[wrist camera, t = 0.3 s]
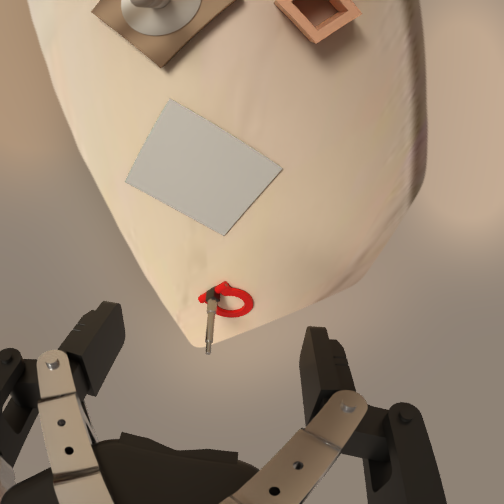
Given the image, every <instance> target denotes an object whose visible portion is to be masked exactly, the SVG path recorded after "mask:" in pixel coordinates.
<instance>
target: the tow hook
mask: <svg viewBox="0 0 504 504" xmlns="http://www.w3.org/2000/svg"><path fill="white" fill-rule="evenodd" d="M220 293H221V294H222V295H224V296H235V297H238V298H240V299H242V300H243V301H244V303H245V304H244V306H243V307H242V308H240V309H238V310H224V309H222V308H220V307H218V306H217V302H218V301H220ZM198 300H199V302H200V303H204V302H205V303H206V304H207V313H208V318H207V329H206V340H205V342H206V354H210V353H211V343H213V332H214V319H215V314H217V315H220V316H223V317H240V316H243V315H245V314H247V313H249V312H250V311H251V310H252V308H253V299H252V297H251V296H250V295H249V294H248V293H246V292H245V291H243V290H240V289H236V288H231V287H230V286H229V284H228V283H227V282H226V281H224V282H223V283H221V284H219V285H218V286H215V287H213V288H211V289H210V290H208V291H207V292H206V293H204V294H202V295H201V296H199V297H198Z"/></svg>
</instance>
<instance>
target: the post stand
mask: <svg viewBox="0 0 504 504" xmlns="http://www.w3.org/2000/svg"><path fill="white" fill-rule="evenodd" d="M234 1H236V0H100V1H99V3H98V4H97V5H96V6H95V8H94V9H93V10H92V11H91V12H92V13H93V14H95V15H96V16H97V17H98V18H100V19H101V20H102V21H104V22H105V23H106V24H108V25H109V26H110V27H111V28H113V29H114V30H115V31H117V32H118V33H119V34H120V35H122V36H123V37H124V38H125V39H127V40H128V41H129V42H130V43H132V44H133V45H134V46H135V47H136V48H138V49H139V50H140V51H141V52H143V53H144V54H145V55H146V56H147V57H149V58H150V59H151V60H152V61H153V62H154V63H156V64H157V65H158V66H159V67H160V68H161V67H163V66H165V65H166V64H167V63H168V62H169V61H170V60H171V59H172V57H173V56H174V55H175V54H176V53H177V52H178V51H179V50H180V49H181V48H182V47H184V46H185V45H186V44H187V43H188V42H189V41H190V40H191V39H192V38H193V37H194V36H195V35H196V34H197V33H198V32H199V31H200V30H202V29H203V28H204V27H205V26H206V25H207V24H208V23H209V22H210V21H212V20H213V19H214V18H215V17H216V16H217V15H219V14H220V13H221V12H222V11H223V10H225V9H226V8H227V7H228V6H229V5H231V4H232V3H233V2H234Z"/></svg>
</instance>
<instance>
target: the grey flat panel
mask: <svg viewBox="0 0 504 504" xmlns="http://www.w3.org/2000/svg"><path fill="white" fill-rule="evenodd" d="M282 169H283V168H282V167H280V166H279V165H277V164H276V163H274V162H273V161H271V160H270V159H268V158H267V157H265V156H264V155H262V154H261V153H259V152H258V151H256V150H255V149H253V148H251V147H250V146H248V145H247V144H245V143H244V142H242V141H241V140H239V139H237V138H236V137H234V136H233V135H231V134H229V133H228V132H226V131H225V130H223V129H221V128H220V127H218V126H216V125H215V124H213V123H211V122H210V121H208V120H206V119H205V118H203V117H201V116H200V115H198V114H196V113H195V112H193V111H191V110H189V109H188V108H186V107H184V106H182V105H181V104H179V103H177V102H175V101H174V100H172V99H169V101H168V102H167V104H166V105H165V107H164V109H163V111H162V112H161V114H160V116H159V117H158V119H157V121H156V123H155V124H154V126H153V128H152V130H151V132H150V133H149V135H148V137H147V139H146V141H145V143H144V144H143V146H142V148H141V150H140V152H139V154H138V156H137V158H136V160H135V162H134V164H133V166H132V168H131V170H130V172H129V174H128V176H127V178H126V180H125V182H126V183H128V184H130V185H131V186H133V187H135V188H137V189H139V190H141V191H142V192H144V193H146V194H148V195H150V196H152V197H153V198H155V199H157V200H159V201H161V202H163V203H164V204H166V205H168V206H170V207H172V208H174V209H175V210H177V211H179V212H181V213H183V214H185V215H186V216H188V217H190V218H192V219H194V220H196V221H197V222H199V223H201V224H203V225H205V226H207V227H208V228H210V229H212V230H214V231H216V232H218V233H219V234H221V235H223V236H224V235H225V234H226V233H227V232H228V230H229V229H230V228H231V227H232V226H233V225H234V223H235V222H236V221H237V220H238V219H239V218H240V216H241V215H242V214H243V213H244V212H245V211H246V210H247V208H248V207H249V206H250V205H251V204H252V203H253V202H254V200H255V199H256V198H257V197H258V196H259V195H260V194H261V192H262V191H263V190H264V189H265V188H266V187H267V186H268V184H269V183H270V182H271V181H272V180H273V179H274V178H275V176H276V175H277V174H278V173H279V172H280V171H281V170H282Z"/></svg>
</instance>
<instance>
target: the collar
mask: <svg viewBox="0 0 504 504" xmlns="http://www.w3.org/2000/svg"><path fill="white" fill-rule="evenodd" d="M291 1H293V0H276V1H275V2H274V4H275V5H276V6H277V7H278V8H279V9H280V10H281V11H282V12H283V13H284V14H285V15H286V16H287V17H288V18H289V19H290V20H291V21H292V22H293V23H294V24H295V25H296V26H297V28H298V29H299V30H300V31H301V32H302V33H303V34H304V35H305V36H306V37H307V39H308V40H309V41H311V42H313V43H316V44H317V43H318V42H320V41H321V40H323V39H324V38H326V37H327V36H329V35H330V34H332V33H333V32H335V31H336V30H338V29H339V28H341V27H342V26H344V25H345V24H347V23H348V22H350V21H352V20H353V19H355V18H356V17H358V16H360V15H361V14H362V13H361V12H360V10H359V9H358V8H357V7H356V5H355V4H354V3H353V2H352V1H351V0H328V1H329V2H330V3H331V4H332V5H333V6H334V8H335V9H336V10H337V11H338V12H337V13H336V14H334V15H333V16H331V17H330V18H328V19H327V20H325V21H323V22H322V23H320V24H319V25H318V26H316V27H314V26H313V25H312V24H311V23H310V21H309V20H308V19H307V18H306V17H305V16H304V15H303V14H302V13H301V12H300V11H299V10H298V9H297V8H296V6H295V5H294V4H293V3H292V2H291Z"/></svg>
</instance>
